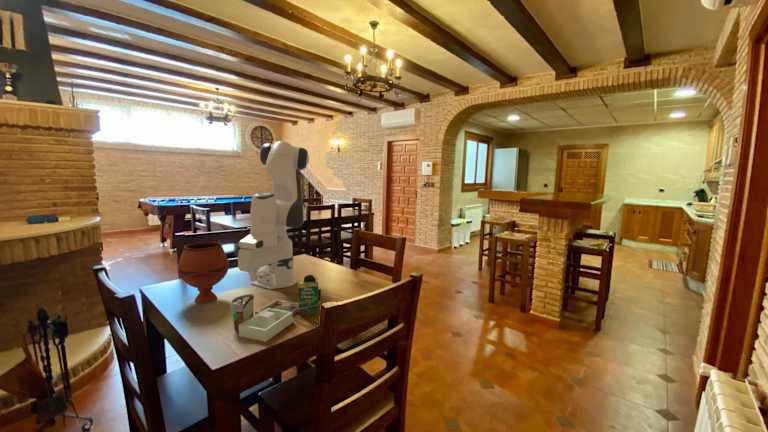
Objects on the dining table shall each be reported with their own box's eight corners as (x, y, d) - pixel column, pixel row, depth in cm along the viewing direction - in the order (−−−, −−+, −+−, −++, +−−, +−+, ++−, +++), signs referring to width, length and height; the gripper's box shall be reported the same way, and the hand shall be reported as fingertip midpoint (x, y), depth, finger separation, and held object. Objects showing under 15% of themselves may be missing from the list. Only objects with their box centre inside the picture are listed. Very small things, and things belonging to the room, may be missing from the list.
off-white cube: (259, 328, 112) (258, 315, 112) (266, 324, 116) (266, 311, 115) (268, 330, 111) (268, 317, 110) (275, 325, 115) (275, 312, 114)
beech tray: (255, 315, 125) (255, 311, 124) (276, 302, 137) (276, 299, 137) (284, 320, 120) (284, 317, 120) (303, 307, 133) (303, 304, 133)
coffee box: (297, 315, 125) (297, 283, 124) (298, 312, 128) (298, 281, 127) (317, 315, 126) (318, 283, 125) (318, 312, 129) (318, 281, 127)
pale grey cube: (280, 314, 126) (280, 306, 126) (283, 310, 130) (283, 302, 129) (289, 314, 126) (289, 306, 126) (291, 310, 130) (291, 302, 129)
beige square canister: (304, 306, 134) (304, 279, 133) (300, 300, 141) (300, 274, 139) (320, 303, 138) (321, 277, 136) (316, 298, 144) (316, 272, 143)
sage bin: (238, 336, 108) (238, 325, 108) (268, 317, 123) (268, 307, 122) (265, 341, 105) (265, 330, 104) (292, 322, 119) (292, 312, 119)
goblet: (169, 304, 133) (166, 246, 130) (209, 289, 151) (207, 238, 148) (201, 312, 126) (198, 251, 123) (239, 296, 144) (237, 242, 141)
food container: (238, 318, 121) (237, 293, 120) (254, 318, 122) (254, 293, 121) (224, 333, 109) (223, 306, 108) (243, 333, 110) (242, 306, 109)
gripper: (275, 233, 121) (275, 268, 122) (234, 243, 101) (234, 284, 103) (289, 235, 118) (288, 270, 120) (250, 245, 99) (249, 287, 101)
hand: (263, 277), depth 111 cm, fingers open, 8 cm apart
